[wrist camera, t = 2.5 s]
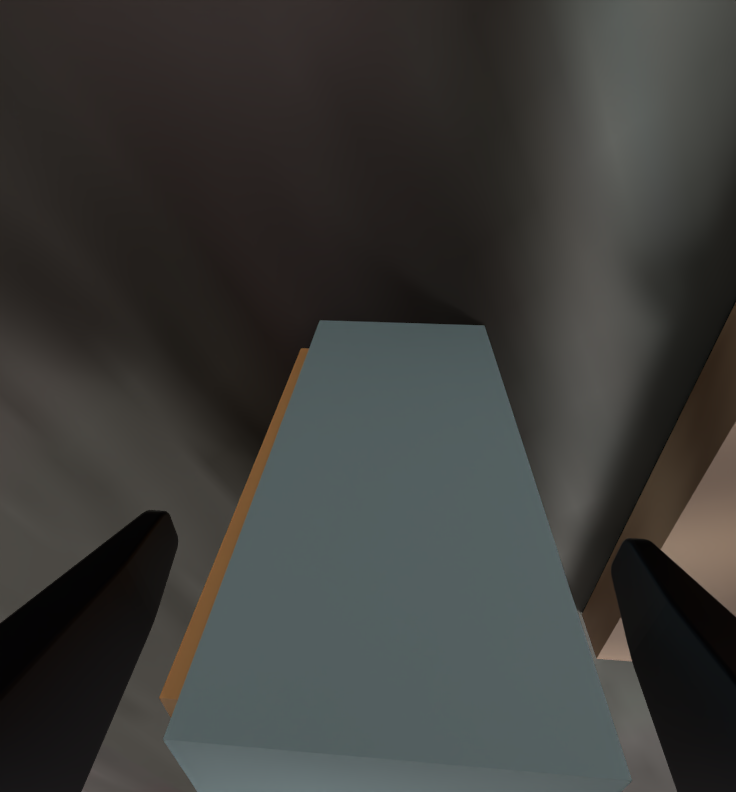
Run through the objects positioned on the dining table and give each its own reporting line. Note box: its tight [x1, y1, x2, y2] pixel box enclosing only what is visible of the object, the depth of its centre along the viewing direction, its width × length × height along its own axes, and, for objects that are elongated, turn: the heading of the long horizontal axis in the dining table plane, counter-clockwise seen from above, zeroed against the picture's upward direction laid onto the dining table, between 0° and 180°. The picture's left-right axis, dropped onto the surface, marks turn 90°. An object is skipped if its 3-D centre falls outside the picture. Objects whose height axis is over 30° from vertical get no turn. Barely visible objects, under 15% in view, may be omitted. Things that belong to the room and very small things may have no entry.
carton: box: [159, 320, 632, 792], centre depth 9 cm, size 4×6×8 cm, turn 0°
